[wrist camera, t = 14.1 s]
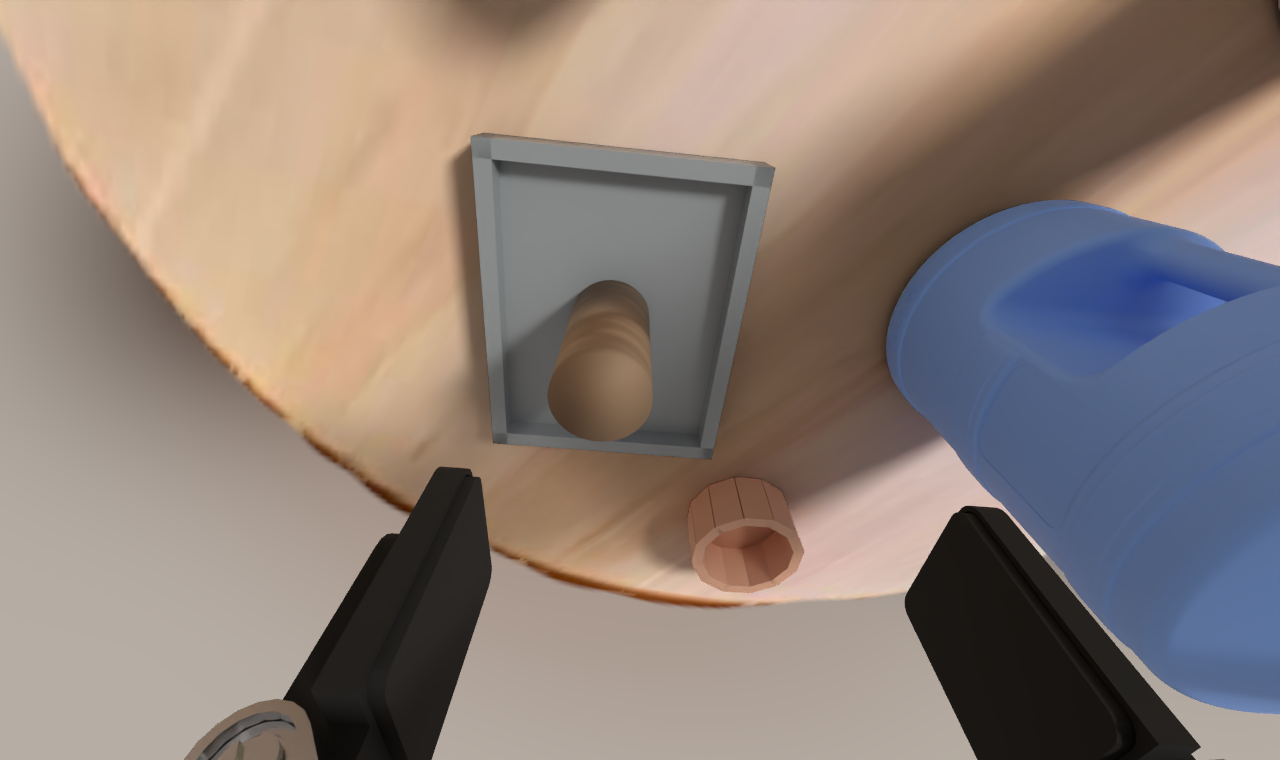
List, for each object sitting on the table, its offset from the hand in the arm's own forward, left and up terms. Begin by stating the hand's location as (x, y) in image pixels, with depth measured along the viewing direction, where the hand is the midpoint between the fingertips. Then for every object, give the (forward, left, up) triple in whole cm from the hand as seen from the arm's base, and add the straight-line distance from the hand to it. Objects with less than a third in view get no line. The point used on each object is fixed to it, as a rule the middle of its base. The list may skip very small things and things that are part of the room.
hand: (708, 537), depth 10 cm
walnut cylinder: (+3, +5, -23) cm, 23 cm away
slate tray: (+3, +5, -24) cm, 24 cm away
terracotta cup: (-9, +23, -24) cm, 34 cm away
